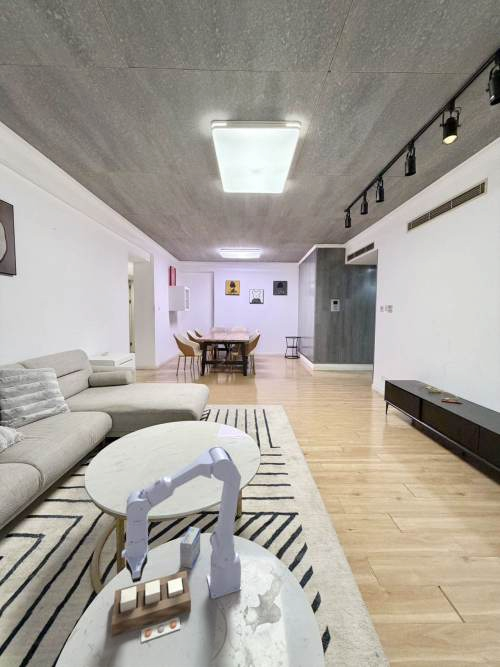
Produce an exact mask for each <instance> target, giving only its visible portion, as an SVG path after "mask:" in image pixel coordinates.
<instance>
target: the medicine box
mask: <svg viewBox="0 0 500 667" xmlns="http://www.w3.org/2000/svg"><path fill="white" fill-rule="evenodd" d="M179 545H180V546H179V558H180V559H179V566H180V567H184V568H189V569H193V566H194V565H195V562H196V560H197V558H198V557H199V556H198V555H199V554H200V551H201V528H199V527H196V526H195V527H194V526H189V528H188V529H187V531H186V533H185V534H184V536H183V538H182V540H181V541H180V543H179Z"/></svg>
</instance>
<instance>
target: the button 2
mask: <svg viewBox="0 0 500 667" xmlns="http://www.w3.org/2000/svg"><path fill="white" fill-rule="evenodd" d="M181 594H183V587H182V579H181V578H178V579H174V580H171V581H168V598H171V597H175V596H178V595H181Z"/></svg>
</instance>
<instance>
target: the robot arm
mask: <svg viewBox="0 0 500 667" xmlns="http://www.w3.org/2000/svg"><path fill="white" fill-rule="evenodd" d="M212 475H213V477H214V478H215V479H217V480H219V481H221V482H223V485H222V491H221V497H220V498H221V499H220V504H219V511H218V517H217V523H216V524H215V525H214V527H213V531H212V532H211V534H210V537H209V543H210V545H211V549H212V551H211V554H210V574H207V575H206V578H207V584H208V587H209V593H210V597H211V599H217V598H220V597H223V596H226V595H228V594H230V595H231V594H232V593H235V592H238V591H241V590H242V586H241V583H242V582H241V580H242V578H241V577H242V565H241V564H242V563H241V558H240V555H239V552H238V551H235V538H234V537H235V536H234V525H235V521H236V520H235V519H236V512H237V508H238V500H239V495H240V494H239V493H240V488H241V487H240V486H241V482H242V475H241V474H240V472H239V470H238V468H237V465H236V464H235V462H234V461H233V459H232V457H231V454H229V452H228V451H227V450H226V449H225V448H224V447H223V446H220V445H216V446H213V447H210V449H209V450H205V451H203V453H202V454H201V455H200V456H199V457H198V458H197V459H195V460H194V461H192V462H191V463H189V464H188V465H186V466H185V467H183V468H182V469H181V470H179V471H178V472H176V473H175V474H173V475H171V476H165V475H164V476H163V477H161V478H160V477H158V478H156V479H155V481H154V482H152V483H150V484H149V485H148V486H146V487H144V488H143V487H142V488H141V489H136V490H134V491H132V492H131V493H130V494H129V495H128V497H127V499H126V508H125V515H126V522H125V523H126V524H125V525H126V526H125V527H126V532H125V533H126V535H125V536H126V538H125V539H126V540H125V541H126V542H125V544H126V545H125V549H123V550H122V551H121V558H122V559H124V558H126V561H125V562H126V563H125V567H126V570H128V571H129V574H130V577H131V581H132V583H133V584H134V583H137V582H141V580H142V577H143V572H144V569H145V567H146V564H147V563H148V553H149V545H148V544H149V542H148V541H149V538H148V537H149V536H148V535H149V530H148V529H149V516H148V514H149V512H150V511H151V510H152V509H153V508H154V507H155V506H158V505H159V504H161V503H162V502H164V501H166V500H168V498H170V497H172V496H173V495H174V492H175V490H176V489H177V488H179V487H181V486H183V485H184V484H187V483H189V482H190V481H192V480H194V479H196V478H197V477H200V476H202V477H205V478H208V479H212Z"/></svg>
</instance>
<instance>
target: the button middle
mask: <svg viewBox="0 0 500 667" xmlns="http://www.w3.org/2000/svg"><path fill="white" fill-rule="evenodd" d="M159 601H160V580H156V581H152V582H149V583H145V606H146V605H149V604H152V603H155V602H159Z"/></svg>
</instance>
